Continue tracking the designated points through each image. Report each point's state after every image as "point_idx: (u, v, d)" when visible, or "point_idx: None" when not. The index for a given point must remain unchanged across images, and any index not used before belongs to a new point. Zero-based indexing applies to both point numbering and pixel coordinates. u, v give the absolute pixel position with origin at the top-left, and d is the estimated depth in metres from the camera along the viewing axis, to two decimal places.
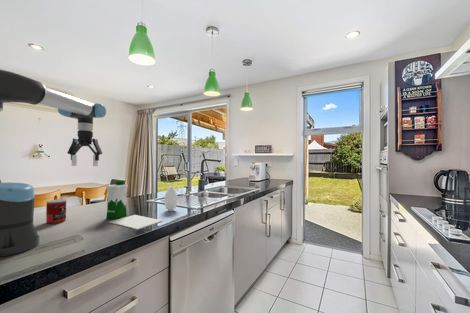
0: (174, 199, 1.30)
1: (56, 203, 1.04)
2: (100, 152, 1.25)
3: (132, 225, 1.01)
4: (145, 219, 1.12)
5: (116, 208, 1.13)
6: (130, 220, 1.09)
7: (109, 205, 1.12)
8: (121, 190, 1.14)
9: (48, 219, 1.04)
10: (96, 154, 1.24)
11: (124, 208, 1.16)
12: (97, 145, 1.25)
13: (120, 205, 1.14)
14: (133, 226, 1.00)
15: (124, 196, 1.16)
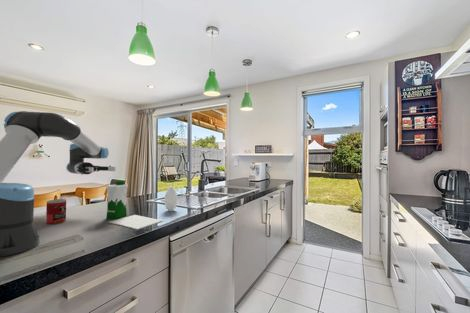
0: (174, 199, 1.30)
1: (56, 203, 1.04)
2: None
3: (132, 225, 1.01)
4: (145, 219, 1.12)
5: (116, 208, 1.13)
6: (130, 220, 1.09)
7: (109, 205, 1.12)
8: (121, 190, 1.14)
9: (48, 219, 1.04)
10: (110, 166, 1.33)
11: (124, 208, 1.16)
12: None
13: (120, 205, 1.14)
14: (133, 226, 1.00)
15: (124, 196, 1.16)
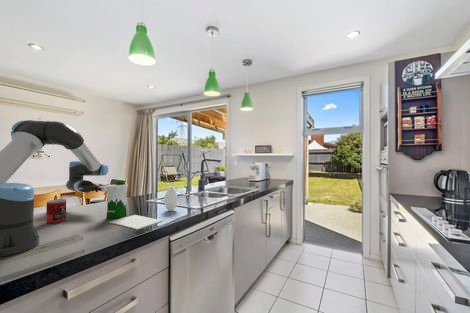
0: (174, 199, 1.30)
1: (56, 203, 1.04)
2: None
3: (132, 225, 1.01)
4: (145, 219, 1.12)
5: (116, 208, 1.13)
6: (130, 220, 1.09)
7: (109, 205, 1.12)
8: (121, 190, 1.14)
9: (48, 219, 1.04)
10: (102, 186, 1.26)
11: (124, 208, 1.16)
12: None
13: (120, 205, 1.14)
14: (133, 226, 1.00)
15: (124, 196, 1.16)
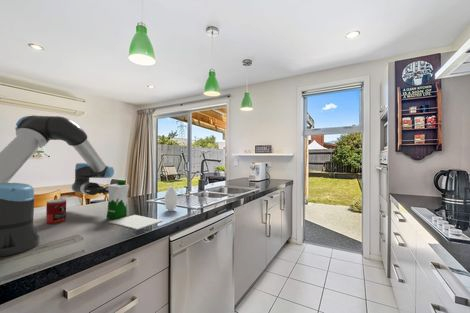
0: (174, 199, 1.30)
1: (56, 203, 1.04)
2: None
3: (132, 225, 1.01)
4: (145, 219, 1.12)
5: (116, 207, 1.12)
6: (130, 220, 1.09)
7: (110, 205, 1.12)
8: (123, 190, 1.14)
9: (48, 219, 1.04)
10: None
11: (124, 208, 1.16)
12: None
13: (120, 205, 1.14)
14: (133, 226, 1.00)
15: (125, 196, 1.16)
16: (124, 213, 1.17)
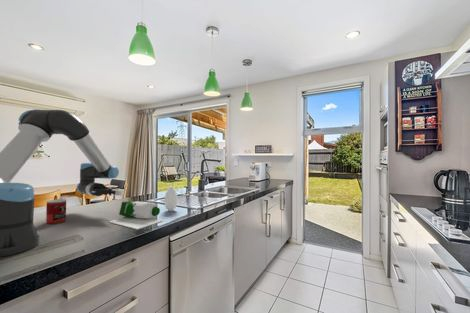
0: (174, 199, 1.30)
1: (56, 203, 1.04)
2: None
3: (132, 225, 1.01)
4: (145, 219, 1.12)
5: (128, 214, 1.12)
6: (130, 220, 1.09)
7: (130, 207, 1.12)
8: (144, 218, 1.11)
9: (48, 219, 1.04)
10: (115, 189, 1.20)
11: None
12: None
13: (131, 216, 1.13)
14: (133, 226, 1.00)
15: (141, 218, 1.14)
16: None
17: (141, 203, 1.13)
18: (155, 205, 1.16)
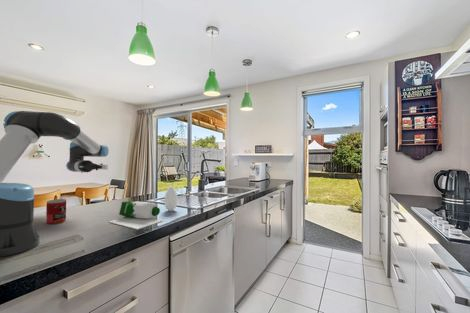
0: (174, 199, 1.30)
1: (56, 203, 1.04)
2: None
3: (132, 225, 1.01)
4: (145, 219, 1.12)
5: (128, 214, 1.12)
6: (130, 220, 1.09)
7: (130, 207, 1.12)
8: (144, 218, 1.11)
9: (48, 219, 1.04)
10: (102, 164, 1.26)
11: None
12: None
13: (131, 216, 1.13)
14: (133, 226, 1.00)
15: (141, 218, 1.14)
16: None
17: (141, 203, 1.13)
18: (155, 205, 1.16)
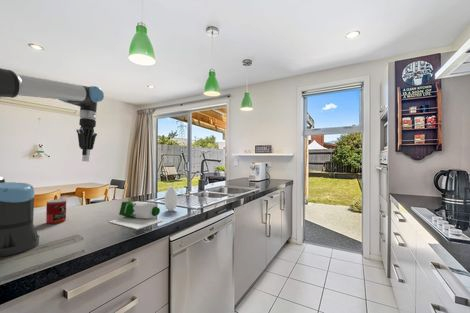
0: (174, 199, 1.30)
1: (56, 203, 1.04)
2: (81, 145, 1.13)
3: (132, 225, 1.01)
4: (145, 219, 1.12)
5: (128, 214, 1.12)
6: (130, 220, 1.09)
7: (130, 207, 1.12)
8: (144, 218, 1.11)
9: (48, 219, 1.04)
10: (82, 148, 1.15)
11: None
12: (80, 137, 1.12)
13: (131, 216, 1.13)
14: (133, 226, 1.00)
15: (141, 218, 1.14)
16: None
17: (141, 203, 1.13)
18: (155, 205, 1.16)
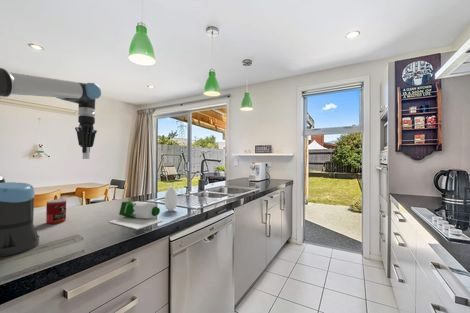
0: (174, 199, 1.30)
1: (56, 203, 1.04)
2: (80, 143, 1.13)
3: (132, 225, 1.01)
4: (145, 219, 1.12)
5: (128, 214, 1.12)
6: (130, 220, 1.09)
7: (130, 207, 1.12)
8: (144, 218, 1.11)
9: (48, 219, 1.04)
10: (81, 146, 1.15)
11: None
12: (79, 135, 1.11)
13: (131, 216, 1.13)
14: (133, 226, 1.00)
15: (141, 218, 1.14)
16: None
17: (141, 203, 1.13)
18: (155, 205, 1.16)
